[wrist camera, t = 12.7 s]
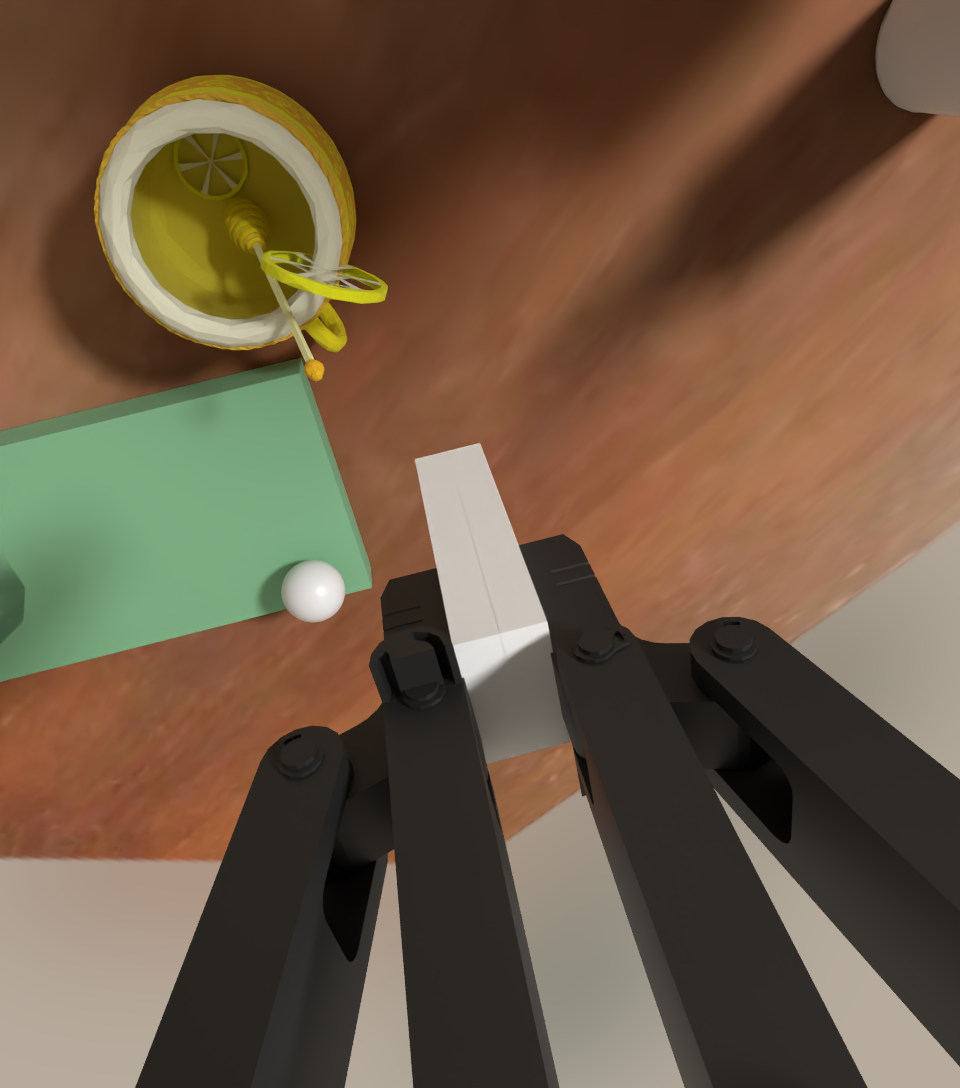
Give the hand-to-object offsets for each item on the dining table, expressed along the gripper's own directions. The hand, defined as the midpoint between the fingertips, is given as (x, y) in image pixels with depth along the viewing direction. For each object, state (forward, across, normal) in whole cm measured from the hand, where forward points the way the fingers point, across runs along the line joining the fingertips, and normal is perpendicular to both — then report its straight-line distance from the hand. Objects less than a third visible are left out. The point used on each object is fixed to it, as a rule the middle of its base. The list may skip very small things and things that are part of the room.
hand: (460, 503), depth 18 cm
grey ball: (+22, -9, -16) cm, 29 cm away
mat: (+26, -20, -11) cm, 35 cm away
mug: (+27, -6, +3) cm, 28 cm away
